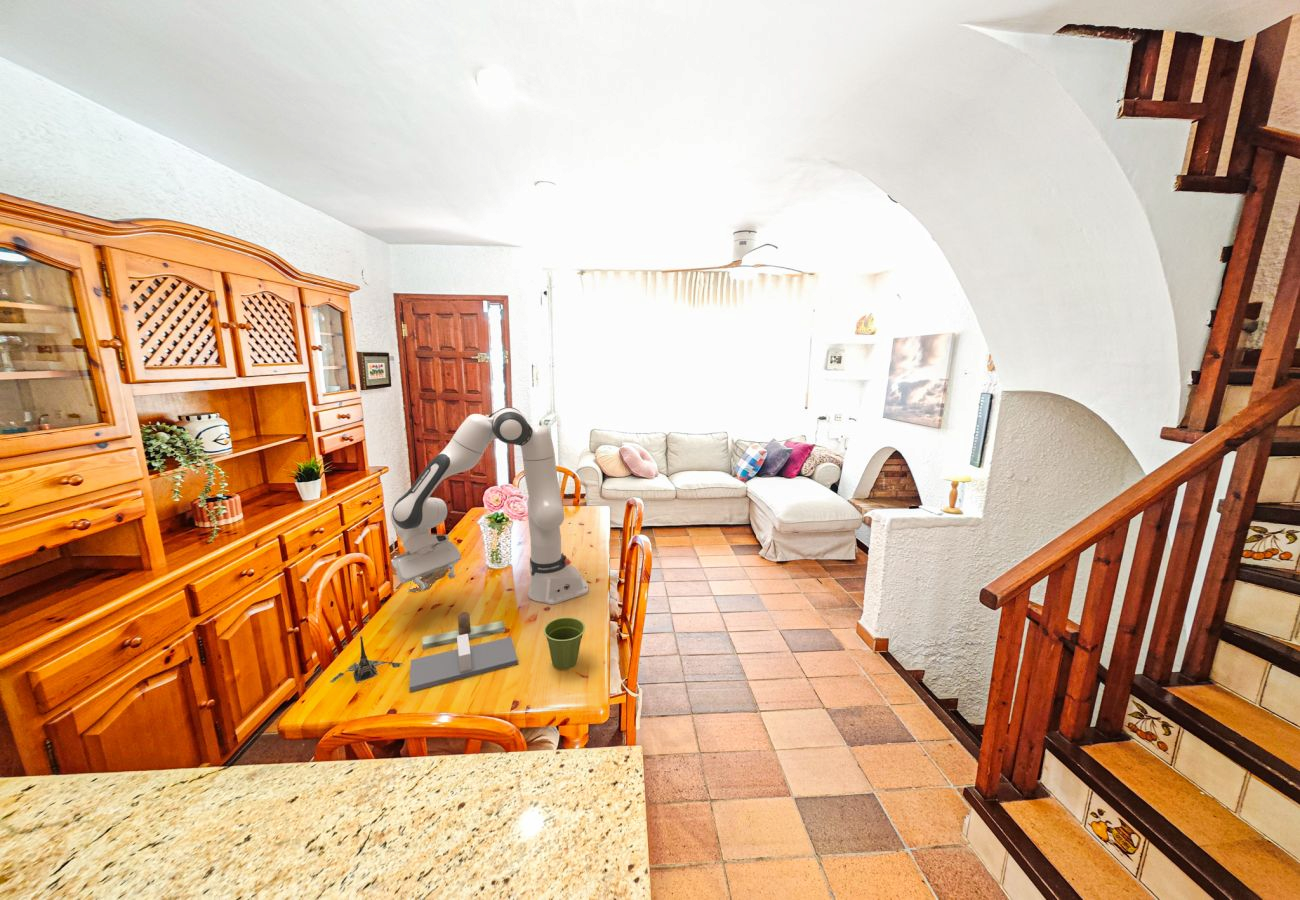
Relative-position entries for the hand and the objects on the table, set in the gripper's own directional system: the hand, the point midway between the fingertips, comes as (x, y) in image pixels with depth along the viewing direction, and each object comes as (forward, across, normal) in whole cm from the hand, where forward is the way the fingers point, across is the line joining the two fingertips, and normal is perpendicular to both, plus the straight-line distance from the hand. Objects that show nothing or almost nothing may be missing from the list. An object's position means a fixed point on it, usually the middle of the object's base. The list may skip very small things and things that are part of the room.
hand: (439, 583), depth 150 cm
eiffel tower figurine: (+15, -26, +7) cm, 31 cm away
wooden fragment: (-13, +15, +34) cm, 39 cm away
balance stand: (+27, -8, -7) cm, 29 cm away
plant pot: (+43, +10, -22) cm, 50 cm away
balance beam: (+19, 0, +2) cm, 19 cm away
